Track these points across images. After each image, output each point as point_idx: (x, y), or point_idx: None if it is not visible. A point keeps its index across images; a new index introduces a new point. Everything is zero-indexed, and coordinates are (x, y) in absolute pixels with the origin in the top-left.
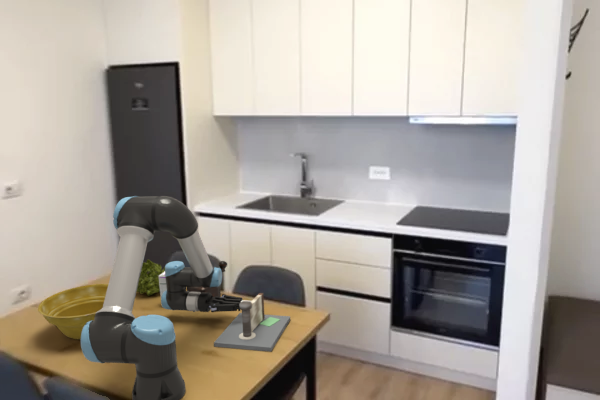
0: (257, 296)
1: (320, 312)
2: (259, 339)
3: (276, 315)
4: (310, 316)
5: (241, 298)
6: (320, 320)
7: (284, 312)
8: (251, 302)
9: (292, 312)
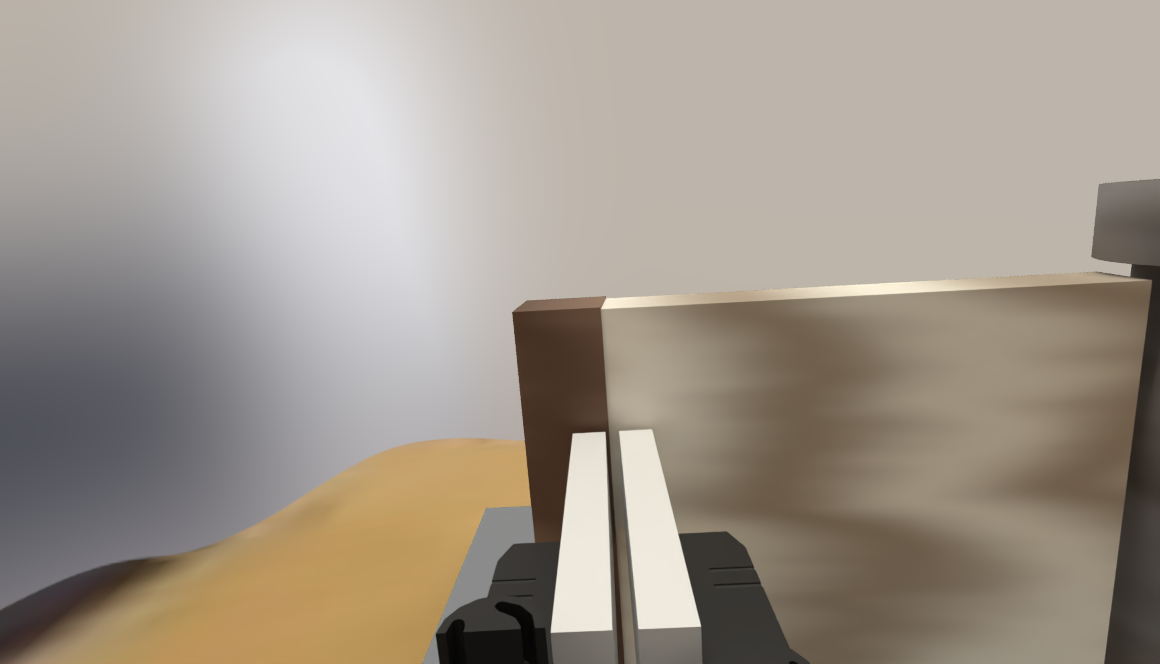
0: (662, 302)
1: (380, 455)
2: None
3: (457, 586)
4: (435, 474)
5: (523, 607)
6: (502, 440)
7: (298, 606)
8: (941, 286)
9: (324, 558)
